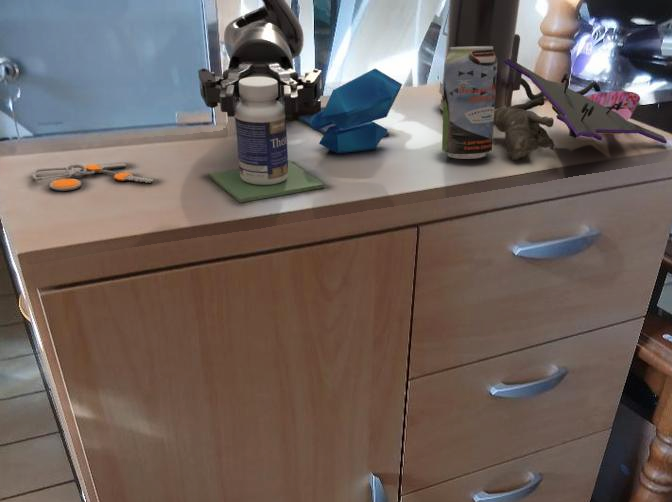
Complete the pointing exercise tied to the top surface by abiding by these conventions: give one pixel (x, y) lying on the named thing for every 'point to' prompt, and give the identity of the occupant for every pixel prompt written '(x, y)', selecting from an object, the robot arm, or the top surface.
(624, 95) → the headband
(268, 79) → the pill bottle
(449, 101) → the beverage can
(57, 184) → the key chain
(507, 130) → the dog figurine
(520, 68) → the toy airplane
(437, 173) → the top surface
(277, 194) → the mat
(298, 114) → the holder
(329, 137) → the blue faceted sculpture
